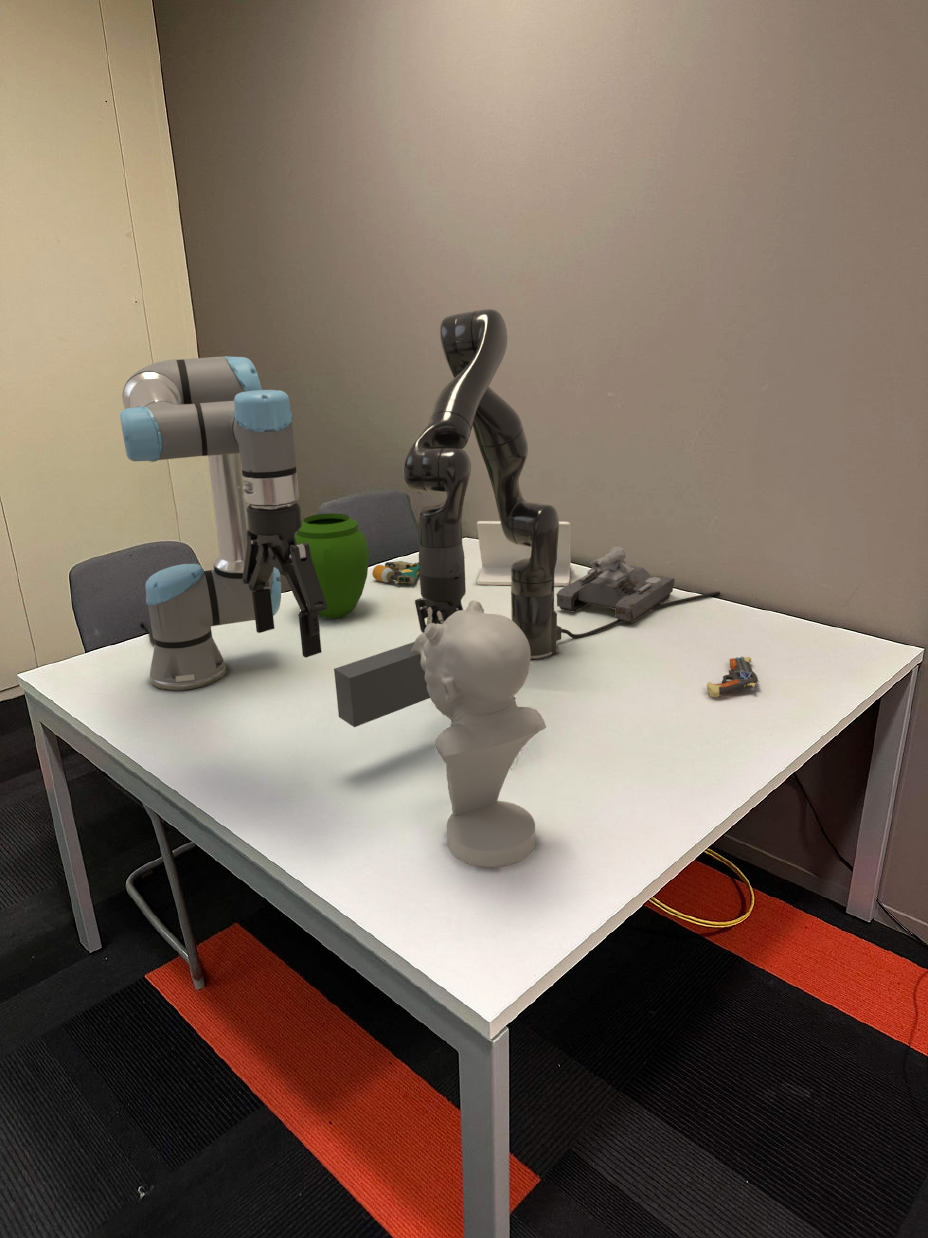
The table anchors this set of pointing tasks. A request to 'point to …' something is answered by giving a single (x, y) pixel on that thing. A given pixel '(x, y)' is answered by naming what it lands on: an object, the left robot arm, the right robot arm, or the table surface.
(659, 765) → the table surface
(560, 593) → the toy
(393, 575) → the spray gun
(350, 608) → the vase
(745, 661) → the toy gun
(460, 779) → the bust sculpture
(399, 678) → the bar
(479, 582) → the tablet stand
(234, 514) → the left robot arm
